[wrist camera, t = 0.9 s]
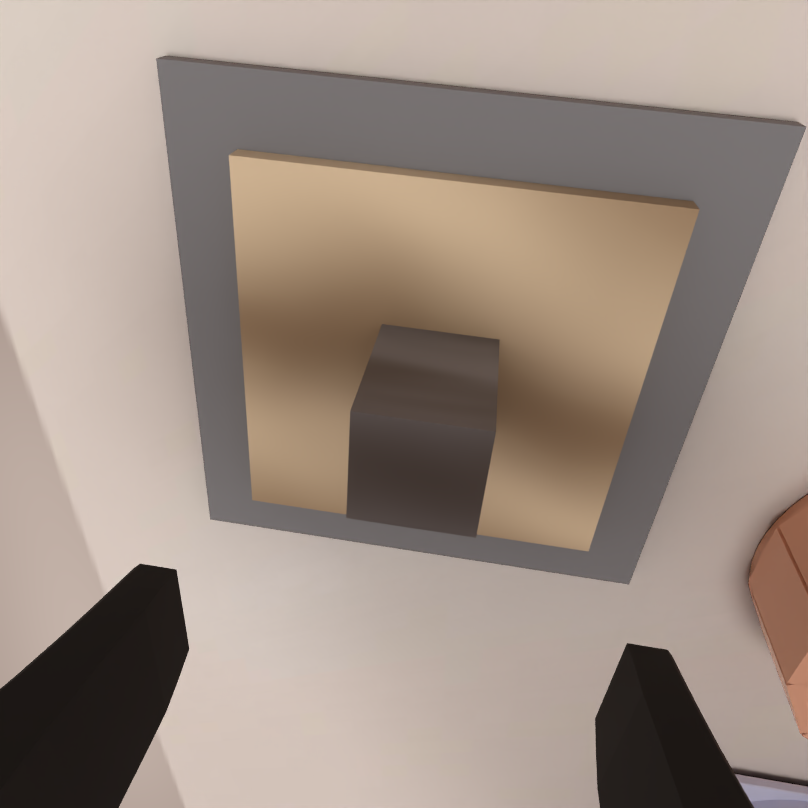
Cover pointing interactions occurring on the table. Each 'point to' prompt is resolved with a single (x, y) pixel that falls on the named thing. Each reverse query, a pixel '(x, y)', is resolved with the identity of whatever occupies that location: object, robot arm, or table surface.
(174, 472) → the table surface
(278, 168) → the lid
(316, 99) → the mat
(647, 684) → the robot arm
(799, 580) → the bowl
